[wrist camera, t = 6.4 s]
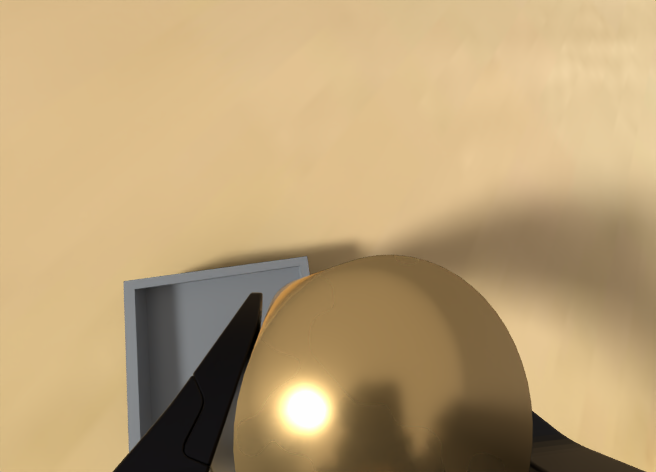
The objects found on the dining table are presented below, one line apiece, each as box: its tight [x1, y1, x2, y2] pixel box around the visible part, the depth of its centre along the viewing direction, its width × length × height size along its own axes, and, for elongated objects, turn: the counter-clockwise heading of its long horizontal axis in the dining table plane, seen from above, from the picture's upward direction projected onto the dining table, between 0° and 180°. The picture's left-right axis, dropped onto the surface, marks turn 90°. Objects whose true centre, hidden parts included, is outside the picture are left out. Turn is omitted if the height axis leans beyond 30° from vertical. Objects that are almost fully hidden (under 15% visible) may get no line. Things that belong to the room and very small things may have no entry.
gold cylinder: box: [233, 255, 533, 472], centre depth 10 cm, size 5×5×12 cm
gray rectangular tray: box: [124, 256, 310, 472], centre depth 19 cm, size 14×12×4 cm
